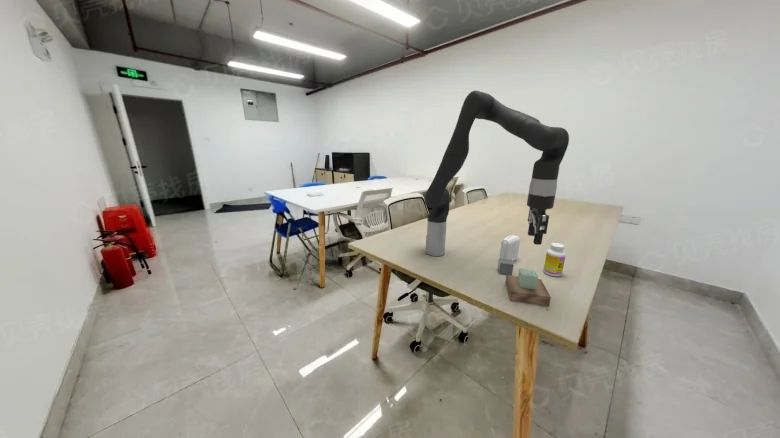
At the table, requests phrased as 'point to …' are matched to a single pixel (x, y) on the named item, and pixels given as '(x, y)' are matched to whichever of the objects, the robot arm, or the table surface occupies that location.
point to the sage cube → (527, 278)
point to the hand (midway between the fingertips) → (534, 239)
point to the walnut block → (527, 292)
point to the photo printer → (510, 248)
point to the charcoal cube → (505, 266)
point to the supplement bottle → (554, 260)
